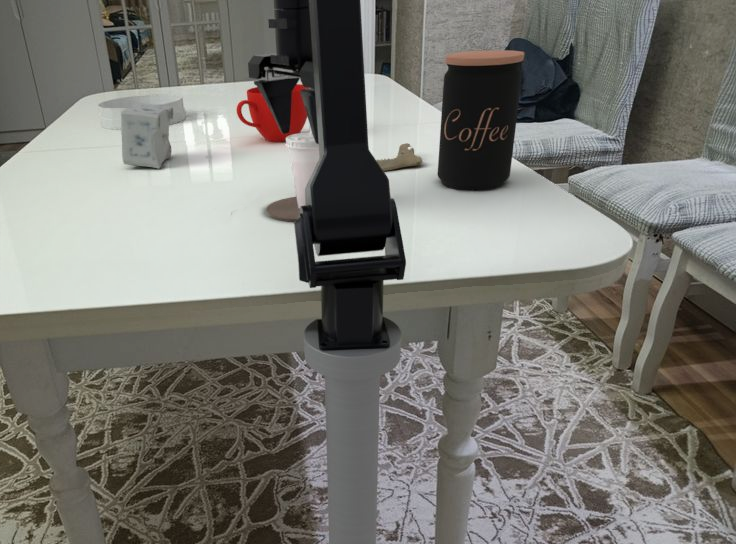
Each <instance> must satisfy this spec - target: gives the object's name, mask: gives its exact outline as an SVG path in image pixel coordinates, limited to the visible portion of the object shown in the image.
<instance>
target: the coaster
mask: <svg viewBox="0 0 736 544" xmlns="http://www.w3.org/2000/svg"><path fill="white" fill-rule="evenodd" d="M266 214H267V215H268V217H270V218H272V219H275V220H278V221H283V222H294V223H295V222H296V220H297V219H298V217H299V214H300V208H298V202H297V196H292V197H291V196H290V197H286V198H281V199H279V200H276V201H273V202H271V203H270V204H269V205H268V206H266Z"/></svg>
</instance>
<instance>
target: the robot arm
mask: <svg viewBox="0 0 736 544" xmlns="http://www.w3.org/2000/svg"><path fill="white" fill-rule="evenodd" d="M273 9H274V10H273V13H274V18H268V19H267V20H268V28H269V29H274V30H275V31H274V33H275V48H276V49H275V50H276V52H271V53H264V54H263V53H262V54H255V55H252V57H251V58H250V60H249V61H248V62H247V68H248V78H249V79H254V80H253V85H254V86H255V87H258V89H259V91H260V93H261V94H262V96H263V98H264V100H265V101H266V103H267V105H268V107H269V109H270V111H271V113H272V115H273V117H274V119H275V121H276V123H277V125H278V127H279V129H280V131H281V133H283V134H286V133H289V132H290V123H291V100H292V91H293V89H294V87H295V86H296V84H299V83H298V82H299V81H300V82H301V84H302V85H303V86H304V87H306V88H308V89H302V90H300V92H301V96H302V99H303V103H304V106H305V109H306V113H307V119H308V124H309V128H310V127H311V131H312V134H313V137H314V140H315V143H316V144H319V160H318V162H317V164H316V167H315V169H314V171H313V173H312V175H311V177H310V179H309V181H308V183H307V185H306V188H305V201H306V206H301V207H300V214H299V217H298V219H297V220H296V222H294V223H293V224H294V227H293V228H294V236H295V244H296V246H295V247H296V254H297V265H298V269H297V270H298V280H299V281H300V282H304V283H306V284H308V286H309V288H310V289H315V288H317V287H320V302H321V318H316V319H317V325H318V340H319V349H320V350H322V351H332V350H358V349H383V348H389V347H390V339H389V336H388V332H387V328H386V324H385V321H384V317H385V316H384V315H383V314H384V281H393V280H397V281H403V280H404V278H405V272H406V266H407V259H406V253H405V247H404V243H403V242H404V241H403V237H402V230H401V225H400V219H399V213H398V208H397V204H396V201H395V199H394V198H393V197H392V196H391V188H390V186H391V185H390V180H389V176H387V174H386V173H385V171H383V170H382V168H381V167H380V165H379V164H378V162H377V159H376V158H375V157H374V155H373V153H372V152H371V151H370V148H369V147H370V146H369V134H368V133H369V131H368V130H369V129H368V116H367V115H368V114H367V98H366V97H367V94H366V80H365V79H366V78H365V60H364V59H365V58H364V41H363V23H362V22H363V21H362V5H361V0H273ZM381 251H384V255H373V256H364V257H351V258H341V259H340V258H339V259H331V260H330V259H329V260H318V261H316V256H317V257H325V256H326V257H327V256H337V255H347V254H358V253H360V254H361V253H371V252H372V253H373V252H381ZM315 254H316V256H315Z"/></svg>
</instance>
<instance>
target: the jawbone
mask: <svg viewBox="0 0 736 544" xmlns="http://www.w3.org/2000/svg"><path fill="white" fill-rule="evenodd" d="M398 147H399V148H398V153H397V156H395V157H394V158H384V159H382V158H380V159H376V161H377V162H378V164H379V165H380V167H381V168H382V170H383V171H384V172H386V171H393V170H397V169H401V168H405V167H406V168H407V167H413V166H419V165H421V164H422V163H423V159H422V157H420V156H418V155H416V154H415V149H414V147H412V145H411V144H410V143H402V144H400V146H398ZM410 147H411V148H410ZM408 148H409V149H408Z"/></svg>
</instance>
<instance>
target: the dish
mask: <svg viewBox="0 0 736 544" xmlns="http://www.w3.org/2000/svg"><path fill="white" fill-rule="evenodd" d="M183 98H184V97H183V95H180V94H172V93H171V94H170V93H169V94H168V93H158V94H156V93H155V94H143V95H141V94H139V95H133V96H123V97H118V98H112V99H108V100H105V101H101V102H99V103H98V104H97V108H98V113H99V117H98V118H99V124H100V127H101V128H103V129H107V130H119V131H121V112H122V111H123V110H126V109H129V108H131V107H132V106H134V105H136V104H139V103H141V104H149V105H157V106H165V107H173V120H172V119H171V120H170V122H169V126H170V125H174V124H177V123H180V122H182V121H184V120H186V118H187V116H186V115H187V114H186V108H185V105H184V99H183Z"/></svg>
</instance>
